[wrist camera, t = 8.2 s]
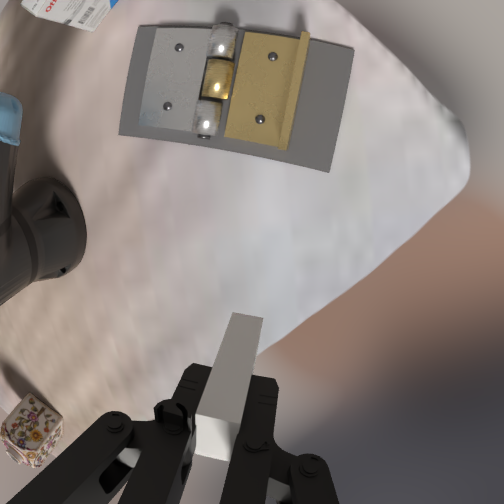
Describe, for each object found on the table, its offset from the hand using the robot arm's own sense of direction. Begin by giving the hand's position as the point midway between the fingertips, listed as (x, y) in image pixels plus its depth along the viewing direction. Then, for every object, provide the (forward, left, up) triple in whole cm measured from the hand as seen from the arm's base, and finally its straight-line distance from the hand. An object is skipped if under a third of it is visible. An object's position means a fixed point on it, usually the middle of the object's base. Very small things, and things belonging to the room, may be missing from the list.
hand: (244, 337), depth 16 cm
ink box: (-28, +25, -22) cm, 44 cm away
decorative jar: (-47, -63, -22) cm, 82 cm away
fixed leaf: (-13, +14, -21) cm, 29 cm away
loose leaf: (-6, +14, -21) cm, 26 cm away
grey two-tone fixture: (-9, +14, -22) cm, 27 cm away
